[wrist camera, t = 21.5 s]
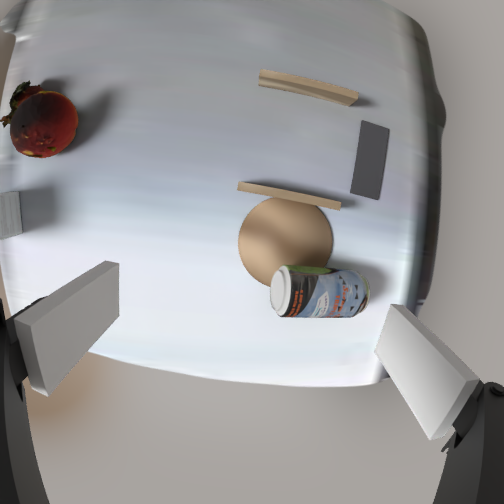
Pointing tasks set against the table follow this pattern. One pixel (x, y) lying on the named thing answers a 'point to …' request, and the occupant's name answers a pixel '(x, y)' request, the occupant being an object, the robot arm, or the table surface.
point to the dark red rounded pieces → (40, 121)
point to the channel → (309, 89)
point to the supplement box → (10, 215)
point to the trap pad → (369, 160)
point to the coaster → (283, 238)
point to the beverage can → (318, 292)
